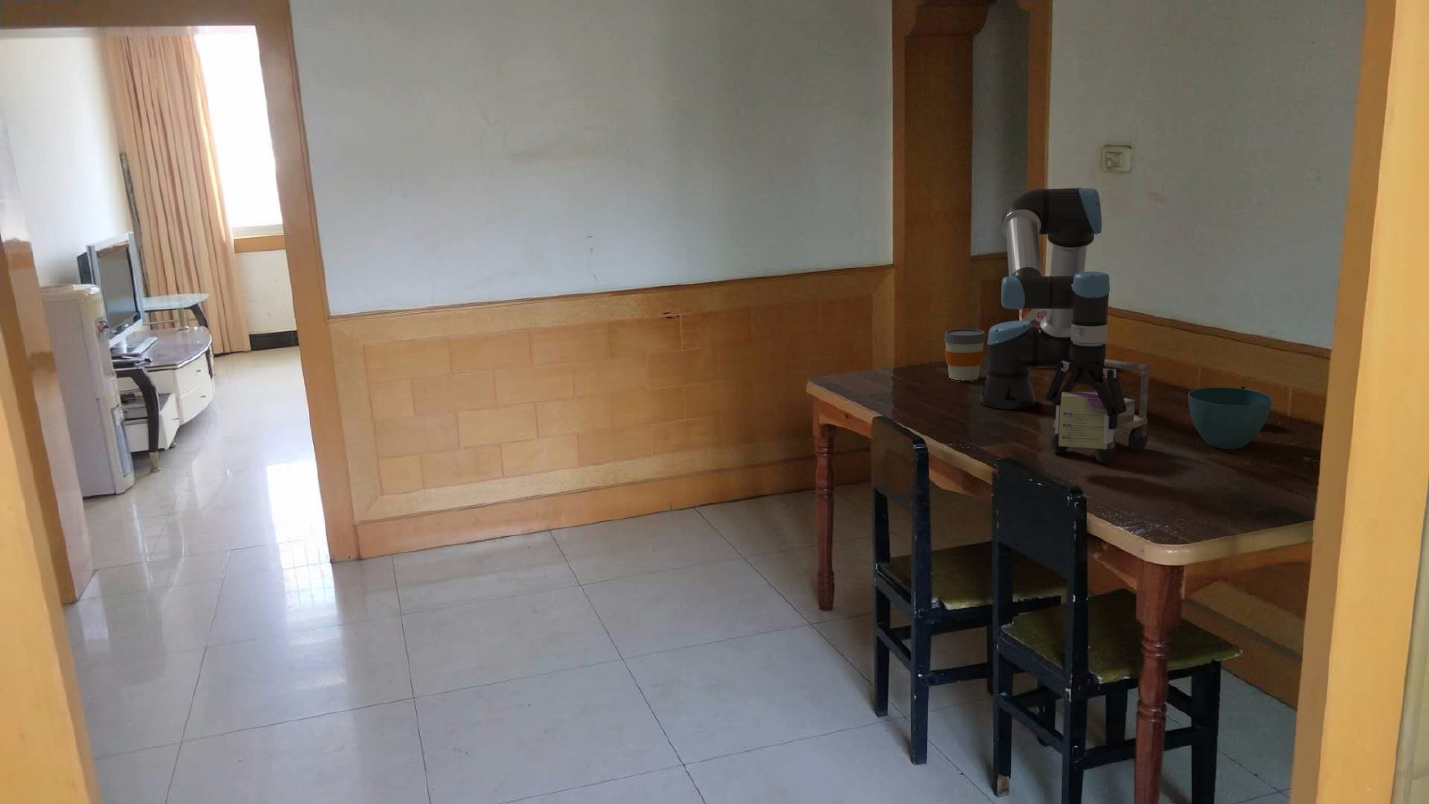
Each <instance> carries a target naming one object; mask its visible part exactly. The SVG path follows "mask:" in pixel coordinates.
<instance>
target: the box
mask: <svg viewBox="0 0 1429 804" xmlns="http://www.w3.org/2000/svg"><path fill="white" fill-rule="evenodd" d="M1106 414H1108V412H1107V410H1106V409H1105V407H1104V405H1103V403H1102V401H1101V399H1100V397H1099V396H1098V394H1097V393H1095V392H1093V391H1088V392H1087V391H1069V392H1062V397H1061V409H1060V428H1059V446H1067V447H1068V448H1086V449H1095V450H1096V449H1107V444H1103V436H1104V418H1105V415H1106Z"/></svg>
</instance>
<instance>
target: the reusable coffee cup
mask: <svg viewBox="0 0 1429 804" xmlns="http://www.w3.org/2000/svg"><path fill="white" fill-rule="evenodd" d="M985 336H986V335H985V331H984V330H981V329H976V328H953V329H949V330H946V331H945V332H944V339H943V341H944V342H945V343H944V344H945V349H944V353H945V354H944V355H945V363H946V364H947V367H948V379H949V378H951V379H954V380H962V381H964V380H973V379H976V378H978V379H979V377H980V375H979V374H980V368H981V365H982V364H983V358H984V352H985V351H984V350H985V349H984V343H985V342H986V337H985Z"/></svg>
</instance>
